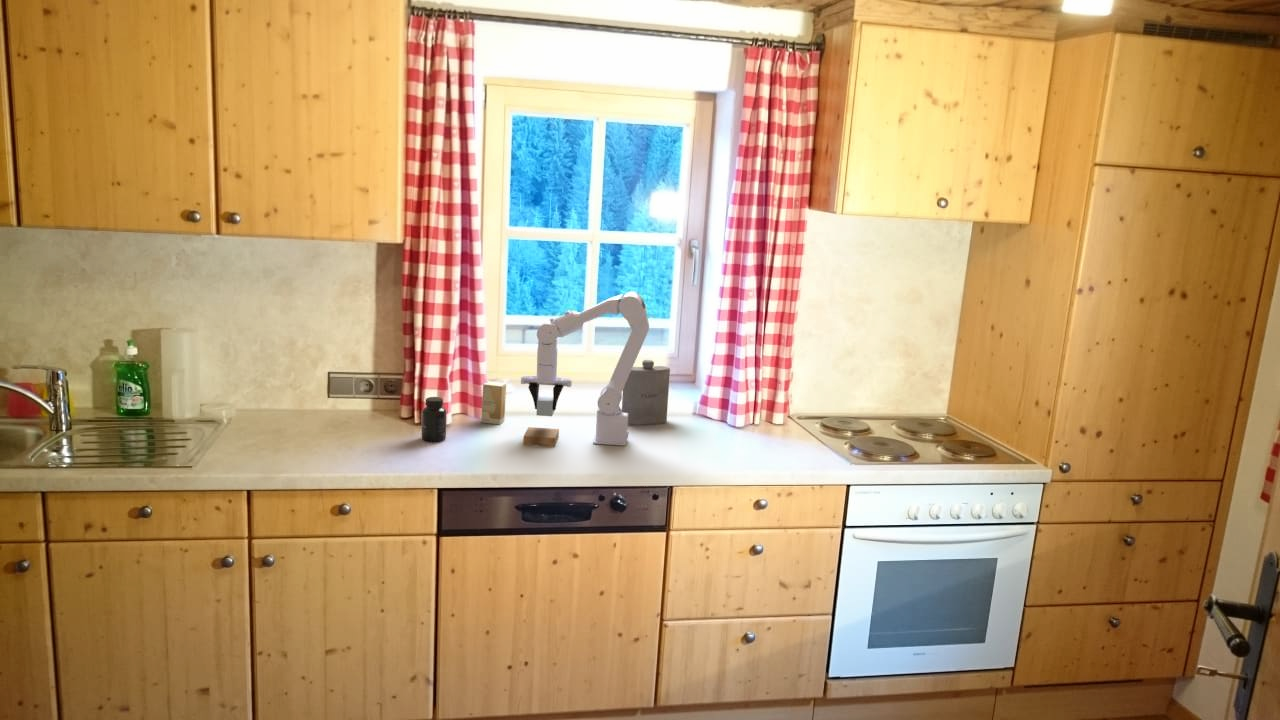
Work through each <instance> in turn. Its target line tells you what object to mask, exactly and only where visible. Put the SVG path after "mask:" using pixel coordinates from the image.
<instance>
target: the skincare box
mask: <svg viewBox="0 0 1280 720" xmlns="http://www.w3.org/2000/svg"><path fill="white" fill-rule="evenodd" d="M487 381H488V380H487ZM506 396H507V383H506V382H498V381H490V380H489V381H488V383H485V382H484V383H483V384H482V397H481V398H482V399H481V400H482V401H481V402H482V403H481V420H480V421H481V423H484V424H485V423H486V424H492V425H493V424H494V425H501V424H503V423H504V422H505V418H506V417H505V415H506V414H505V413H506V398H507V397H506Z"/></svg>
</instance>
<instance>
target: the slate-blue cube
mask: <svg viewBox="0 0 1280 720" xmlns="http://www.w3.org/2000/svg"><path fill="white" fill-rule="evenodd" d="M554 413H555V410H553V396H539V395H538V400H537V409H536V416H541V417H542V416H543V417H553V416H554Z"/></svg>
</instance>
